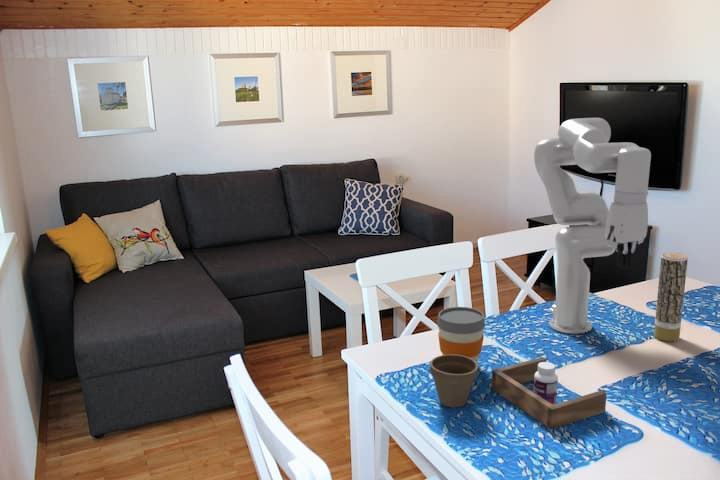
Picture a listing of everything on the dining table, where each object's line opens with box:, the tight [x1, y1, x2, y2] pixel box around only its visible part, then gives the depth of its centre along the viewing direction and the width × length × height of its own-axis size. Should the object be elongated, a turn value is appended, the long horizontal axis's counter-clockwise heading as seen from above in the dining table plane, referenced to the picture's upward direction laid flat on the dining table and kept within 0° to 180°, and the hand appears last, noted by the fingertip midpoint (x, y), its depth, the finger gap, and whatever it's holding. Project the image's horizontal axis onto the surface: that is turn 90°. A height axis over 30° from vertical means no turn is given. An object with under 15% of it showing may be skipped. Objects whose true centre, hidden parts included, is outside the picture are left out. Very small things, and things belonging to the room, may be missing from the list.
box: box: [491, 356, 608, 430], centre depth 159 cm, size 22×16×5 cm
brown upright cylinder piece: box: [653, 252, 689, 343], centre depth 190 cm, size 7×7×25 cm
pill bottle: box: [532, 361, 559, 405], centre depth 158 cm, size 5×5×10 cm
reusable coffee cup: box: [436, 306, 486, 365], centre depth 177 cm, size 13×12×15 cm
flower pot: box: [429, 354, 479, 408], centre depth 159 cm, size 12×11×10 cm
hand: (623, 266), depth 170 cm, fingers closed
